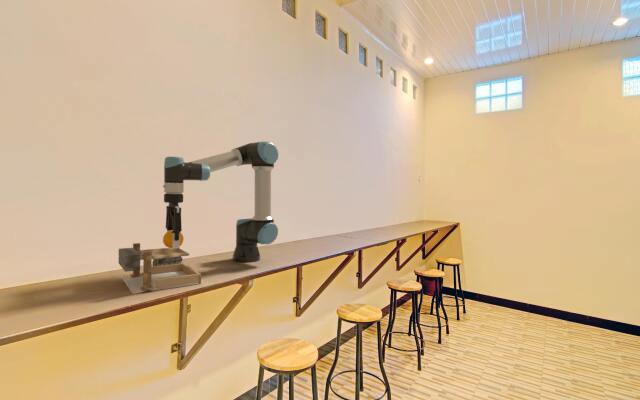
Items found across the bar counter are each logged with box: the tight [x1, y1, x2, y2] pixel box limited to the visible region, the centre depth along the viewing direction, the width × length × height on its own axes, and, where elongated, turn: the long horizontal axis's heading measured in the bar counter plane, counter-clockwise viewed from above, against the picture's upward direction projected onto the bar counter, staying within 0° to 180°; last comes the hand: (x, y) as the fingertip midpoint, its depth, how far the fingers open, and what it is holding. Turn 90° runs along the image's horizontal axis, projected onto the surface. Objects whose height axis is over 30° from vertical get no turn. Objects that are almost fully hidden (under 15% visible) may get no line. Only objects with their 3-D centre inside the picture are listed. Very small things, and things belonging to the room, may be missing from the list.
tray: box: [122, 262, 202, 295], centre depth 141 cm, size 25×24×4 cm
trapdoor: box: [118, 247, 190, 273], centre depth 138 cm, size 23×19×6 cm
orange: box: [162, 230, 184, 248], centre depth 143 cm, size 8×8×8 cm
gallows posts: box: [129, 242, 154, 293], centre depth 136 cm, size 4×26×15 cm, turn 38°
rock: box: [152, 256, 183, 267], centre depth 161 cm, size 16×8×10 cm, turn 142°
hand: (173, 246), depth 143 cm, fingers closed on orange, 8 cm apart
